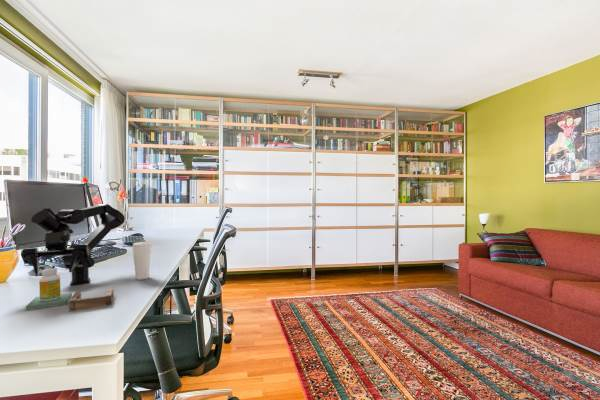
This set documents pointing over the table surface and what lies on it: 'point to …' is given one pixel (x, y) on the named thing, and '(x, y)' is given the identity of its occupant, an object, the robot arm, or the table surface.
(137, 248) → the white tall cylinder
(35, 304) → the green mat
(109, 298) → the frame
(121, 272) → the table surface
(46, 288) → the supplement bottle
